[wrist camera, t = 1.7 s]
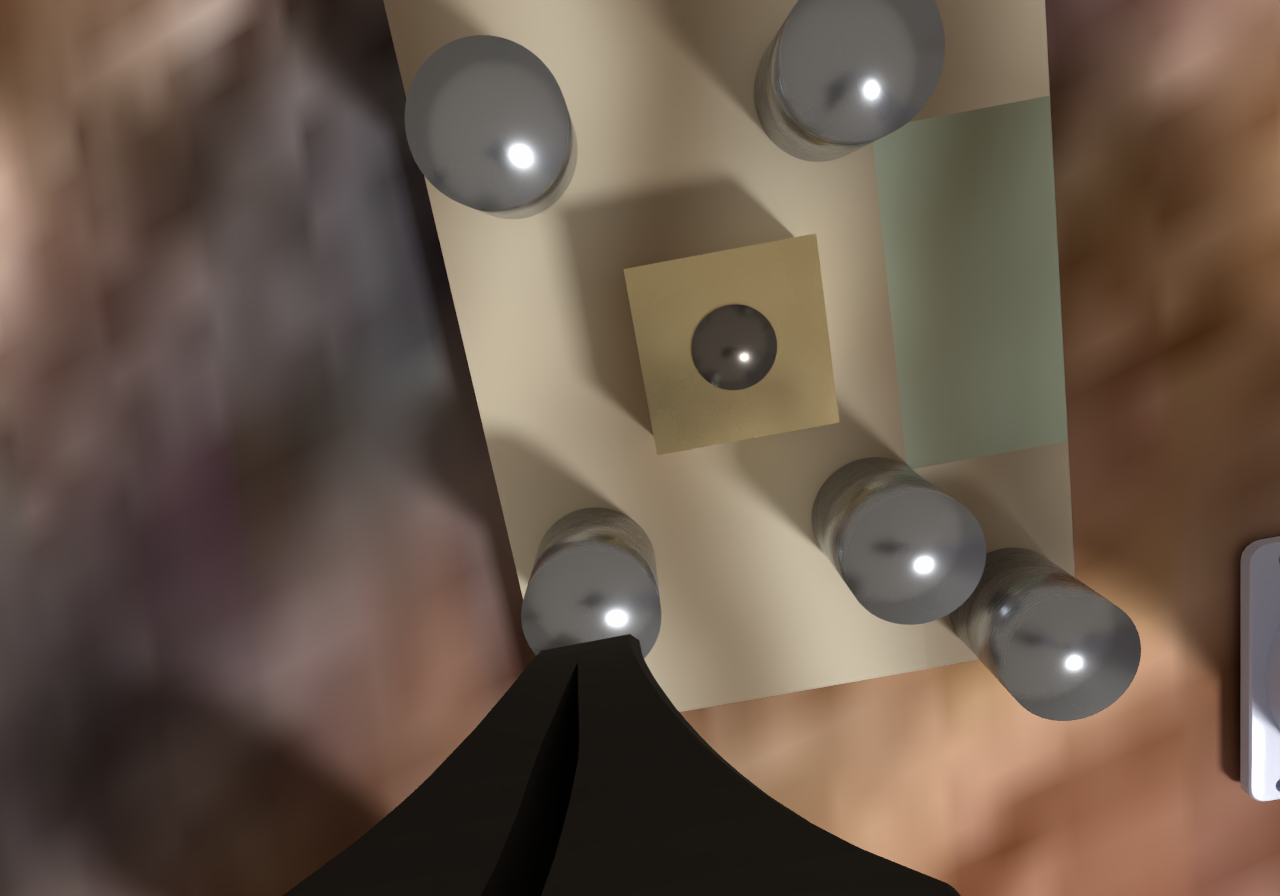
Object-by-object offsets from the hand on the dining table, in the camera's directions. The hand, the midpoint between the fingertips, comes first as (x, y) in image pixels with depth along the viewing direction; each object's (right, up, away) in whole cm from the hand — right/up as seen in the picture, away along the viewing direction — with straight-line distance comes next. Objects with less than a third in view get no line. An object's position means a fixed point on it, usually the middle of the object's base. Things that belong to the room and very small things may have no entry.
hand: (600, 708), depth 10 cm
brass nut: (+2, +6, +8) cm, 10 cm away
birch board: (+3, +7, +9) cm, 12 cm away
